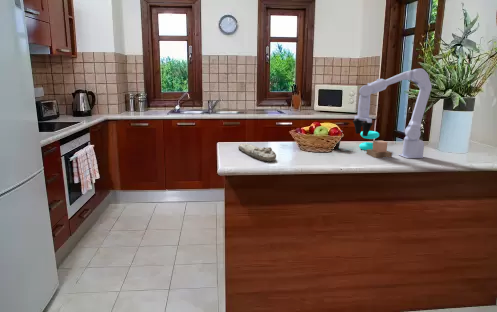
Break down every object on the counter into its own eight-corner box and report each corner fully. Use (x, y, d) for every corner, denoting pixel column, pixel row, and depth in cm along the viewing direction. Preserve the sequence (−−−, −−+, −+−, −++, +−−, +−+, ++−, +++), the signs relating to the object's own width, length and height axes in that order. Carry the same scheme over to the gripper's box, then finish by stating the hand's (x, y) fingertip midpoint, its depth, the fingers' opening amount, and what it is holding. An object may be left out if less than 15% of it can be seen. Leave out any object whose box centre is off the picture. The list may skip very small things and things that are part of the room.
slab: (381, 154, 189) (382, 149, 188) (391, 158, 180) (392, 152, 179) (366, 154, 187) (366, 149, 186) (375, 158, 178) (375, 153, 178)
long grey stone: (250, 150, 198) (233, 152, 194) (249, 140, 197) (233, 143, 193) (282, 160, 167) (263, 163, 162) (281, 149, 166) (263, 152, 161)
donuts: (360, 129, 203) (378, 131, 200) (358, 147, 205) (377, 148, 202) (360, 132, 193) (380, 133, 191) (359, 150, 196) (378, 151, 193)
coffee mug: (328, 150, 194) (330, 132, 192) (322, 147, 203) (323, 129, 200) (348, 149, 197) (350, 131, 194) (341, 146, 205) (342, 129, 203)
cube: (381, 149, 185) (382, 140, 184) (386, 151, 181) (387, 142, 180) (372, 150, 185) (373, 140, 183) (377, 152, 180) (378, 142, 179)
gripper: (350, 107, 190) (348, 132, 193) (363, 110, 176) (361, 137, 179) (362, 107, 191) (360, 132, 194) (376, 110, 177) (373, 136, 180)
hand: (361, 134), depth 186 cm, fingers open, 7 cm apart
